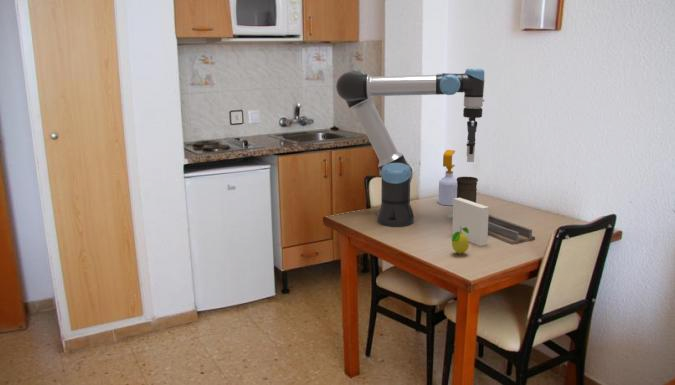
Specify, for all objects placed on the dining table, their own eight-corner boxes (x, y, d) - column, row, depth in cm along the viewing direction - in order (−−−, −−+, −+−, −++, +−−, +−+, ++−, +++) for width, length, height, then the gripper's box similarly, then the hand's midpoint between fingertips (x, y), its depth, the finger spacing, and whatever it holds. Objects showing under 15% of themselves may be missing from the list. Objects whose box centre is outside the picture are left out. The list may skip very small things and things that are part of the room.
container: (477, 224, 223) (479, 181, 219) (454, 224, 225) (455, 180, 220) (476, 218, 231) (478, 176, 227) (454, 217, 233) (455, 175, 229)
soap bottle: (461, 202, 258) (463, 149, 252) (454, 206, 251) (455, 152, 245) (442, 200, 263) (444, 148, 257) (435, 204, 255) (436, 151, 250)
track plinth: (512, 244, 199) (512, 233, 198) (468, 227, 220) (468, 217, 219) (534, 239, 204) (535, 229, 203) (489, 223, 225) (490, 213, 224)
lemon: (468, 251, 193) (469, 223, 190) (471, 256, 187) (472, 228, 185) (448, 251, 193) (449, 223, 191) (451, 256, 187) (452, 228, 185)
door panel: (480, 246, 198) (482, 208, 194) (452, 234, 212) (453, 198, 208) (488, 244, 199) (490, 206, 196) (459, 232, 213) (461, 197, 210)
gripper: (483, 110, 214) (480, 164, 219) (481, 105, 237) (478, 154, 242) (463, 109, 215) (460, 164, 220) (463, 104, 239) (460, 153, 244)
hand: (470, 159), depth 231 cm, fingers open, 13 cm apart
